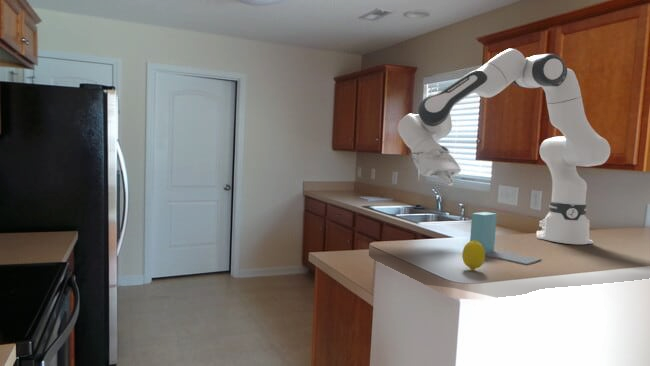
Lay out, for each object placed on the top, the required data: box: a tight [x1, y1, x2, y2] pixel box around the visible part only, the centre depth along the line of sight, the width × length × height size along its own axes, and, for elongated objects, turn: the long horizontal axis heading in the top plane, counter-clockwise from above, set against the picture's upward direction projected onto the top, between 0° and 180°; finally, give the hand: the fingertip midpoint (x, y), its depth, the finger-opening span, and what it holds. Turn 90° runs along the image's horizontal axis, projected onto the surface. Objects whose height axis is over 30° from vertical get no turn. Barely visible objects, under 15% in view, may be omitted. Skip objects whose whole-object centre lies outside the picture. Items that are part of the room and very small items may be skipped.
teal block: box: [469, 211, 498, 253], centre depth 137 cm, size 4×8×12 cm, turn 132°
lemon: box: [461, 240, 486, 271], centre depth 113 cm, size 6×6×8 cm
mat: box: [485, 250, 542, 266], centre depth 131 cm, size 13×10×1 cm
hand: (451, 184), depth 145 cm, fingers closed
